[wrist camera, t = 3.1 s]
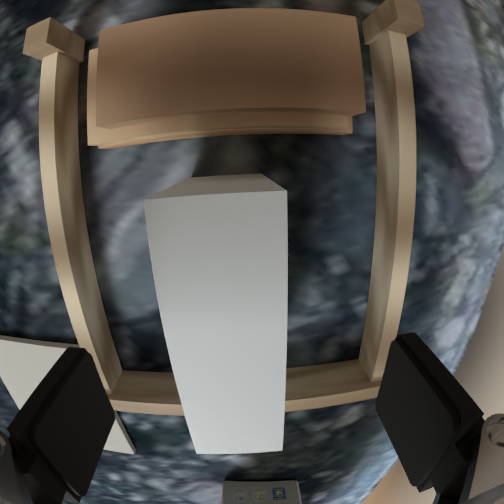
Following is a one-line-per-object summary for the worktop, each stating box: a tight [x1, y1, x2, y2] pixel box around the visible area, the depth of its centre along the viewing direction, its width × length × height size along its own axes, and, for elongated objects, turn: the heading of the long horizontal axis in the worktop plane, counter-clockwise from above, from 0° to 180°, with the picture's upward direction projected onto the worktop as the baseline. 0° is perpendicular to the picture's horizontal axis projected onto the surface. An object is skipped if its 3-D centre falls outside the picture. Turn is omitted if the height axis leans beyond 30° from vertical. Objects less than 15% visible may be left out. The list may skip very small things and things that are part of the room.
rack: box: [23, 0, 425, 416], centre depth 13 cm, size 22×18×4 cm
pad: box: [0, 335, 136, 454], centre depth 19 cm, size 12×12×1 cm
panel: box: [144, 174, 288, 454], centre depth 12 cm, size 10×4×8 cm, turn 2°
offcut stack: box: [87, 8, 366, 149], centre depth 11 cm, size 5×12×4 cm, turn 92°
